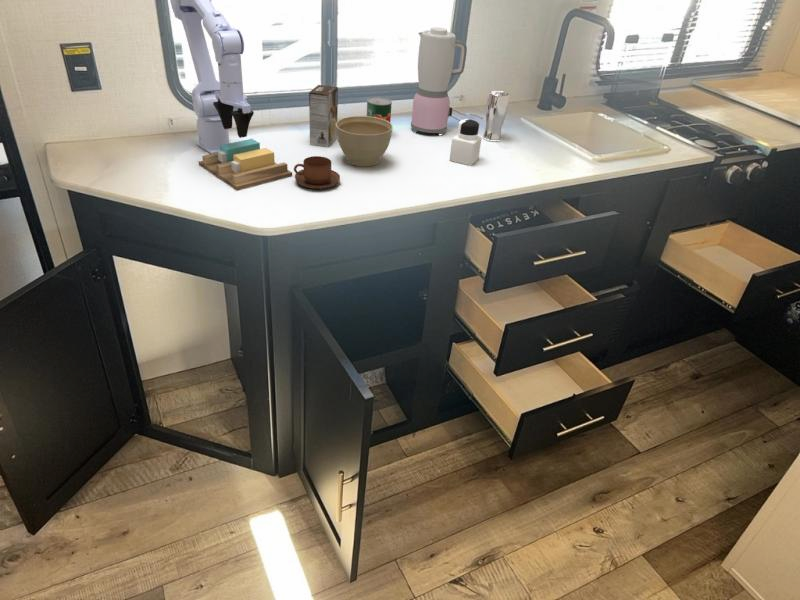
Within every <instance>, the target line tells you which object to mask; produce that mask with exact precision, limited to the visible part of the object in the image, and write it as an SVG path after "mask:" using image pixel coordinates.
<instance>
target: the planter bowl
mask: <svg viewBox="0 0 800 600" xmlns="http://www.w3.org/2000/svg"><path fill="white" fill-rule="evenodd" d="M336 129H337V141H338V145H339V146H340V149H341V151H342V152H343V155H345V157H346V160H347V162H348V163H349V164H351V165H354V166H357V167H372V166H376V165H378V164H379V163H380V161H381V158H382V157H383V155H384V154H386V151H387V150H388V147H389V145H390V143H391V138H392V132H393V124H392V123H391V121H390V122H388V121H386V120H383V119H380V118H376V117H369V116H367V115H355V116H353V115H352V116H346V117H343V118H340V119H337V123H336Z"/></svg>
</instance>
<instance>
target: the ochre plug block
mask: <svg viewBox="0 0 800 600" xmlns="http://www.w3.org/2000/svg"><path fill="white" fill-rule="evenodd" d="M233 159H234V161H232V162H231V166H232V171H234V172H235V173H236V174H238V173H242V172H247V171H251V170H255V169H259V168H263V167H267V166H271V165H275V163H276V162H275V152H274V151H272V150H270V148H267V147H265V148H260V149H258V150H254V151H249V152H245V153H240V154H236V155H233Z"/></svg>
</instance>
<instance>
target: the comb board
mask: <svg viewBox="0 0 800 600" xmlns="http://www.w3.org/2000/svg"><path fill="white" fill-rule="evenodd" d="M201 157H202V160H200V161H198V165H199V166H200V167H201V168H202V169H204V170H206V171H207V172H209V173H210V174H212V175H213V176H215V177H217V179H219V180H221V181H222V182H224V183H226V184H227V185H228V186H230V187H231V188H233V189H234V190H236V191H240V190H244V189H249V188H252V187H256V186H259V185H260V186H261V185H263V184H267V183H270V182H274V181H278V180H282V179H285V178H289V177H293V172H292V171H291V170H289V169H288V164H287V163H286V162H280V163H277V162H275V165H271V166H267V167H263V168H259V169H255V170H251V171H247V172H242V173H238V174H236V173H235V172H234V171H232V166H231V162H232V161H231V162H227V163H221V162H220V161H219V160H218V153H213V154H211V153H209V154H206V155H202V156H201Z"/></svg>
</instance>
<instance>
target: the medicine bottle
mask: <svg viewBox="0 0 800 600" xmlns="http://www.w3.org/2000/svg"><path fill="white" fill-rule="evenodd" d="M457 128H458V129H457V134H456V135H455V136H453V137H452V139H451V145H450V153H449V161H450V162H453V161H454V163H457V162H458V164H461V163H462V165H465V164H467V165H466V166H469V165H471V166H473V164H474V163H475V162H477V160H479V157H480V150H481V144H482V138H483V136H481V135H479V130H480V129H479V128H480V123H479V122H478V121H477V120H474V119H470V118H469V119H468V118H465V119H461V120H460V121H459V122H458V127H457Z"/></svg>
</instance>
